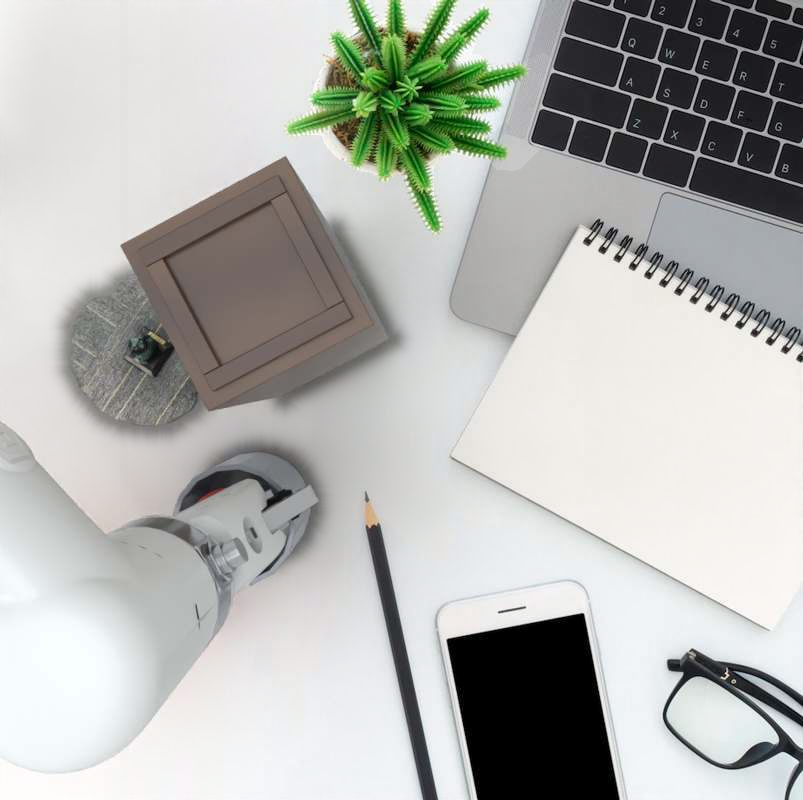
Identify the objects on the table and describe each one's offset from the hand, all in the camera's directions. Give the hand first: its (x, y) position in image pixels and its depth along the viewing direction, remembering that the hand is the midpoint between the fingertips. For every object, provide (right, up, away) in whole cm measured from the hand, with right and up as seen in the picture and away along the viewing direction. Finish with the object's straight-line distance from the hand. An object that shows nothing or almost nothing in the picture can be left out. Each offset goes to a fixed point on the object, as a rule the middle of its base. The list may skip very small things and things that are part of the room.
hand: (232, 526), depth 60 cm
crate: (+4, +16, +9) cm, 19 cm away
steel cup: (0, 0, +9) cm, 9 cm away
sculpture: (-9, +13, +9) cm, 18 cm away
